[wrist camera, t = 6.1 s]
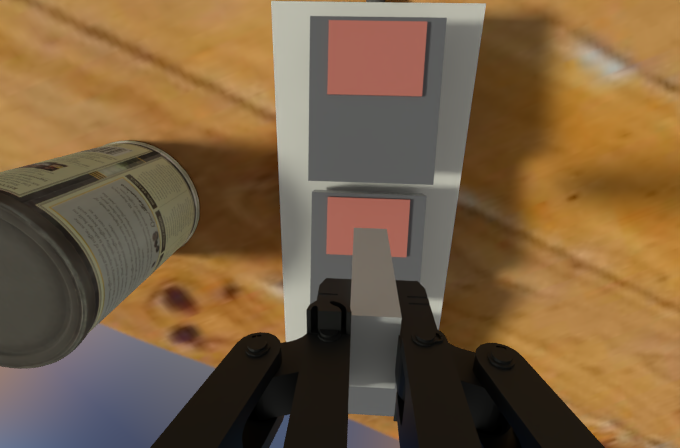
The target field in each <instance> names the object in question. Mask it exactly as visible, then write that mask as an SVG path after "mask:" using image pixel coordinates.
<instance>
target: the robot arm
mask: <svg viewBox="0 0 680 448" xmlns="http://www.w3.org/2000/svg"><path fill="white" fill-rule="evenodd" d="M306 315H307V334H305V335H304V336H303V337H301V338H299V339H297V340H293V341H289V342H284V343H280V340H279V339H278V338H277V337H276V336H274V335H272V334H269V333H261V332H260V333H254V334H250V335H248V336H246V337H243V338H242V339H241V340H240V341H239V342H237V344H236V345H235V346H234V347H233V348H232V350H231V351H230V352H229V353H228V354H227V356H226V357H225V358H224V359H223V360H222V362H221V363H220V364H219V365H218V366H217V368H216V369H215V370H214V371H213V373H212V374H211V375H210V376H209V377H208V379H207V380H206V381H205V382H204V384H203V385H202V386H201V387H200V388H199V390H198V391H197V392H196V393H195V394H194V396H193V397H192V398H191V399H190V400H189V402H188V403H187V404H186V405H185V406H184V408H183V409H182V410H181V411H180V412H179V414H178V415H177V416H176V417H175V419H174V420H173V421H172V422H171V423H170V424H169V426H168V427H167V428H166V429H165V431H164V432H163V433H162V434H161V435H160V437H159V438H158V439H157V440H156V442H155V443H154V444H153V445H152V446H151V448H269V447H270V445H271V442H272V441H273V439H274V437H275V434H276V433H277V431H278V429H279V427H280V425H281V423H282V421H283V418H284V415H288V414H290V418H289V423H288V427H287V433H286V437H285V442H284V448H347V427H348V399H349V386H356V387H373V388H391V389H395V380H396V387H397V393H396V403H395V412H394V421H397V423H398V432H399V442H400V448H605V447H604V446H603V445H602V444H601V443H600V442H599V441H598V440H597V439H596V437H595V436H594V435H593V434H592V433H591V432H590V431H589V430H588V429H587V427H586V426H585V425H584V424H583V423H582V422H581V421H580V420H579V419H578V417H577V416H576V415H575V414H574V413H573V412H572V411H571V410H570V409H569V408H568V406H567V405H566V404H565V403H564V402H563V401H562V400H561V399H560V398H559V396H558V395H557V394H556V393H555V392H554V391H553V390H552V389H551V388H550V386H549V385H548V384H547V383H546V382H545V381H544V380H543V379H542V378H541V377H540V375H539V374H538V373H537V372H536V371H535V370H534V369H533V368H532V367H531V365H530V364H529V363H528V362H527V361H526V360H525V359H524V358H523V357H522V356H521V355H520V354H519V353H518V352H517V351H515V350H514V349H512V348H510V347H508V346H505V345H502V344H498V343H486V344H482V345H480V346H479V347H478V348H477V349H476V353H475V352H471V351H467V350H464V349H461V348H458V347H455V346H453V345H451V344H449V343H448V341H447V339H446V337H445V335H444V334H443V333H442V332H440V331H439V330H438V329H437V326H436V323H435V320H434V316H433V313H432V310H431V307H430V303H429V300H428V297H427V293H426V290H425V288H424V287H423V286H422V285H421V284H420V283H419V282H418V281H405V280H395V275H394V269H393V263H392V257H391V251H390V245H389V240H388V234H387V229H375V228H354V236H353V259H352V279H338V278H326V279H325V280H324V281H323V282H322V283H321V284H320V285H319V290H318V295H317V301H314V302H313V303H312V304H310V305H309V306H308V308H307V310H306Z"/></svg>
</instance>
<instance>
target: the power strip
mask: <svg viewBox="0 0 680 448" xmlns="http://www.w3.org/2000/svg"><path fill="white" fill-rule="evenodd" d="M271 8H272V31H273V54H274V77H275V100H276V124H277V147H278V170H279V193H280V216H281V239H282V263H283V286H284V309H285V332H286V342H289V341H293V340H297V339H299V338H301V337H303V336H304V335H305V334H307V315H306V310H307V308H308V306H309V305H310V278H311V213H312V191H314V190H339V191H368V192H398V193H422V194H424V195H426V196H427V198H426V211H425V225H424V238H423V252H422V265H421V279H420V284H421V285H422V286H423V287H424V288H425V290H426V293H427V297H428V300H429V303H430V307H431V310H432V313H433V316H434V320H435V323H436V326H437V329H438V330H439V325H440V318H441V311H442V304H443V297H444V291H445V284H446V277H447V270H448V263H449V256H450V249H451V242H452V235H453V228H454V222H455V215H456V208H457V201H458V194H459V187H460V180H461V173H462V166H463V159H464V153H465V146H466V139H467V132H468V125H469V118H470V111H471V104H472V97H473V90H474V83H475V77H476V70H477V63H478V56H479V49H480V42H481V35H482V28H483V21H484V14H485V8H486V4H479V3H391V2H385V0H366V2H303V1H271ZM310 16H354V17H430V18H447V22H446V35H445V47H444V59H443V72H442V84H441V96H440V109H439V121H438V134H437V146H436V158H435V171H434V183H433V185H421V184H391V183H361V182H331V181H308V153H309V61H310Z"/></svg>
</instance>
